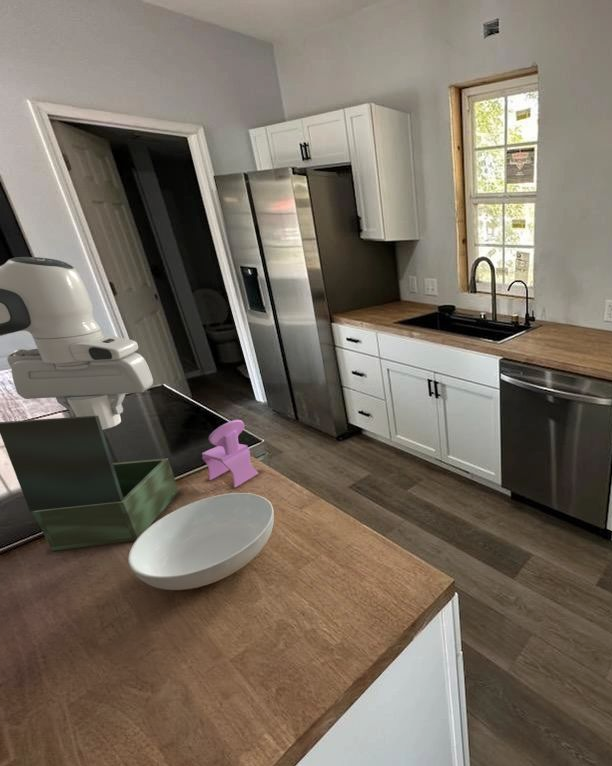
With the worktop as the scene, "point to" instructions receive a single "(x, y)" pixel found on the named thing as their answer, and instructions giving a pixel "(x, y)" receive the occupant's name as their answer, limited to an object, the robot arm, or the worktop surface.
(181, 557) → the serving bowl
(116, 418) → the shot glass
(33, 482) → the green box lid
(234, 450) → the toy chair
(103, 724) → the worktop surface
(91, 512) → the box
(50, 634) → the worktop surface
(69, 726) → the worktop surface
